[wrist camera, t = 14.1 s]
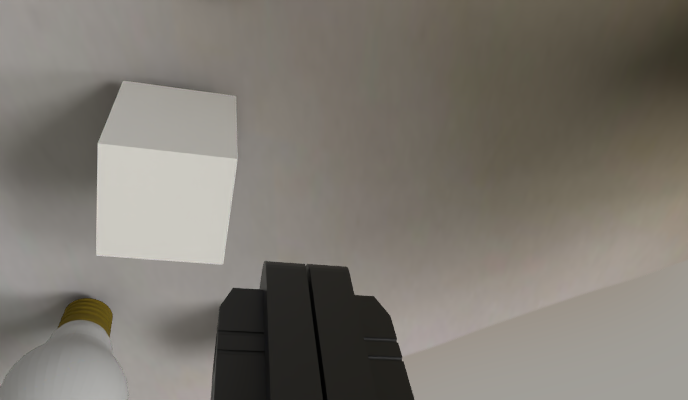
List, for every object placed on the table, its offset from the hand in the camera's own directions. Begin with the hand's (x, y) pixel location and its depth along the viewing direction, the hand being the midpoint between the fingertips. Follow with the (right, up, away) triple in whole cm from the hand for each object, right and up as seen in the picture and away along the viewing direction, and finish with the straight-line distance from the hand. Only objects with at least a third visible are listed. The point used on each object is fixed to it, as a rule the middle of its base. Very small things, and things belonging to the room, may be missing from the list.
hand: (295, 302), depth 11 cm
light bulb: (-14, -4, +25) cm, 29 cm away
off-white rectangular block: (-7, +5, +19) cm, 21 cm away
